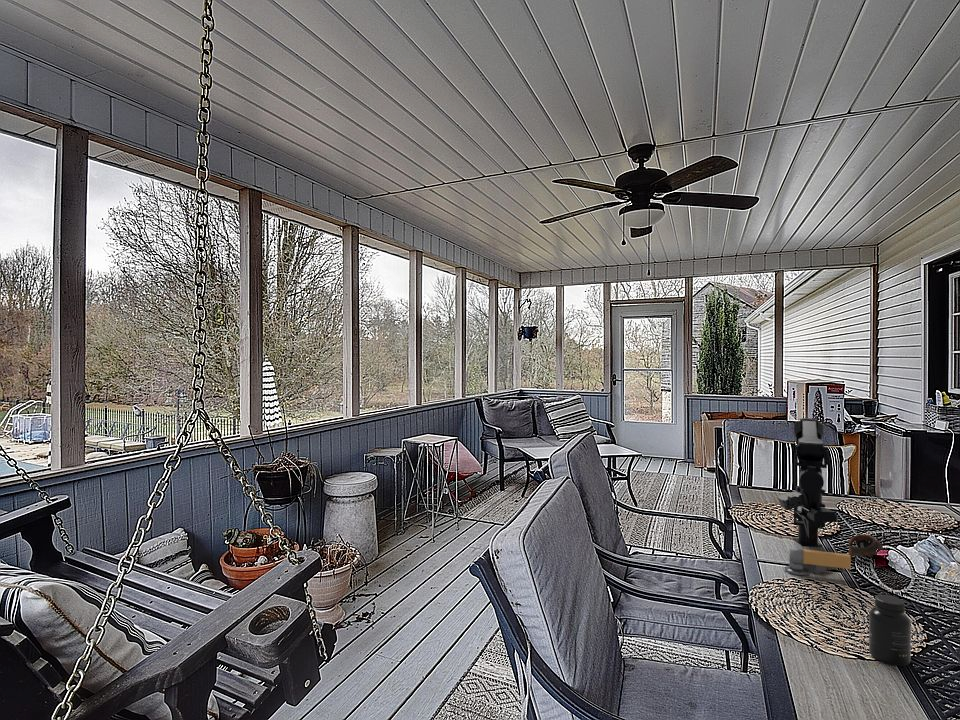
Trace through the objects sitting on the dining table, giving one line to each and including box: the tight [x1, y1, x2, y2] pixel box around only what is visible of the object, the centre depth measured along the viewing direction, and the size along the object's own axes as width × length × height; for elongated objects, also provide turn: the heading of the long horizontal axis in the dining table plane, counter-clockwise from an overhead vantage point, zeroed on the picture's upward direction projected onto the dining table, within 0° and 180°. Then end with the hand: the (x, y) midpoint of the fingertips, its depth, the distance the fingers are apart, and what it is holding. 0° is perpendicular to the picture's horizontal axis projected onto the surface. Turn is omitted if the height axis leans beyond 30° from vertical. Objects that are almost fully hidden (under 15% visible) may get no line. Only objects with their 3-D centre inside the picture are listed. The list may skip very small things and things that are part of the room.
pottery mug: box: [848, 533, 884, 559], centre depth 167 cm, size 12×9×8 cm
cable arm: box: [788, 547, 852, 570], centre depth 154 cm, size 15×4×4 cm, turn 69°
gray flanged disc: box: [784, 561, 810, 577], centre depth 156 cm, size 6×6×3 cm
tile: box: [804, 564, 828, 574], centre depth 159 cm, size 7×5×3 cm
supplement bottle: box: [868, 594, 912, 667], centre depth 111 cm, size 7×7×12 cm
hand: (810, 537), depth 159 cm, fingers closed
